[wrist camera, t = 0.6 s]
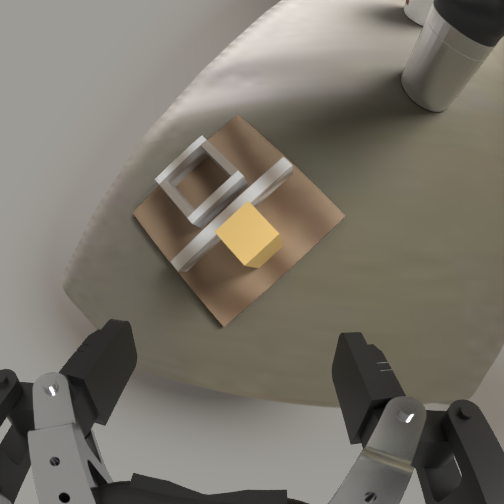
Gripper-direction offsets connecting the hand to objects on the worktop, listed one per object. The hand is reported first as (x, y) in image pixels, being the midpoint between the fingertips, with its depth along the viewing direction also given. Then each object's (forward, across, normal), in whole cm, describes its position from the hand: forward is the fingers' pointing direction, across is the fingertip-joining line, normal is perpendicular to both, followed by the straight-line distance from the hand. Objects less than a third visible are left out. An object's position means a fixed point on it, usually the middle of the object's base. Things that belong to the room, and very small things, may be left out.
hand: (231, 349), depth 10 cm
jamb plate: (+27, +2, 0) cm, 28 cm away
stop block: (+24, -1, +3) cm, 25 cm away
